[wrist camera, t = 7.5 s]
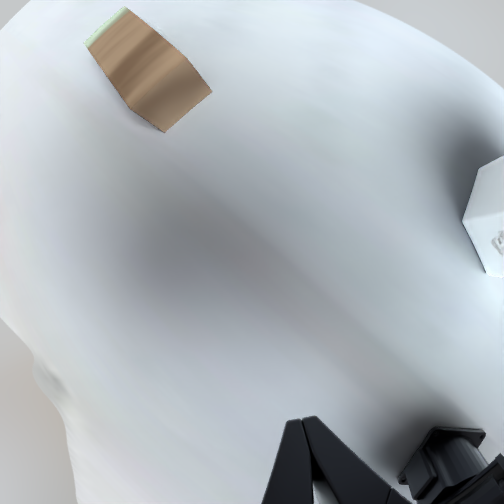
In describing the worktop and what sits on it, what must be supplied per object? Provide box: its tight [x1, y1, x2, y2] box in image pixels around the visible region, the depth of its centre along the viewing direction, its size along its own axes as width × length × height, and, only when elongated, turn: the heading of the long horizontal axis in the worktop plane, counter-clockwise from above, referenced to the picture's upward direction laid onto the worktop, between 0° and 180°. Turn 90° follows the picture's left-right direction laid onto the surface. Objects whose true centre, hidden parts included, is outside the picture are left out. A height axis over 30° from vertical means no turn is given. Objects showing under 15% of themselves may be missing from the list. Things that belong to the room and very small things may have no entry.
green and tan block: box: [84, 6, 212, 133], centre depth 20 cm, size 5×5×12 cm
